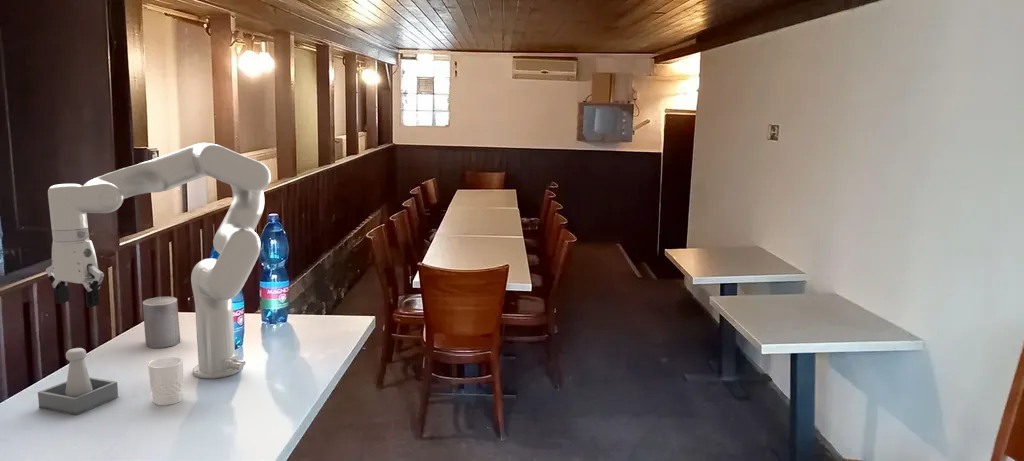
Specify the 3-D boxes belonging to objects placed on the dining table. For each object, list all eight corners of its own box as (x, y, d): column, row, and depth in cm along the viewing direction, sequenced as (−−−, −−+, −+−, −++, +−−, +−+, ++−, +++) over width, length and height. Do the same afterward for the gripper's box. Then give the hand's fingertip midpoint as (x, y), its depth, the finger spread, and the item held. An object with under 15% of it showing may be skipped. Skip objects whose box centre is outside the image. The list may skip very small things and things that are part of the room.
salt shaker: (81, 405, 180) (76, 354, 178) (60, 403, 181) (55, 352, 179) (98, 396, 186) (94, 346, 184) (78, 394, 187) (74, 344, 185)
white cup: (192, 396, 188) (189, 359, 186) (168, 408, 181) (166, 369, 179) (167, 392, 191) (165, 355, 189) (143, 403, 183) (140, 365, 182)
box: (118, 397, 187) (117, 381, 186) (76, 415, 176) (74, 399, 175) (82, 390, 191) (81, 375, 190) (39, 407, 180) (37, 392, 179)
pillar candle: (158, 337, 234) (154, 291, 232) (186, 339, 233) (183, 293, 230) (138, 347, 225) (134, 300, 222) (168, 349, 223) (164, 301, 221)
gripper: (111, 235, 179) (117, 303, 182) (57, 230, 185) (64, 297, 188) (84, 240, 172) (91, 311, 175) (29, 235, 178) (37, 305, 181)
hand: (77, 304), depth 181 cm, fingers open, 9 cm apart
